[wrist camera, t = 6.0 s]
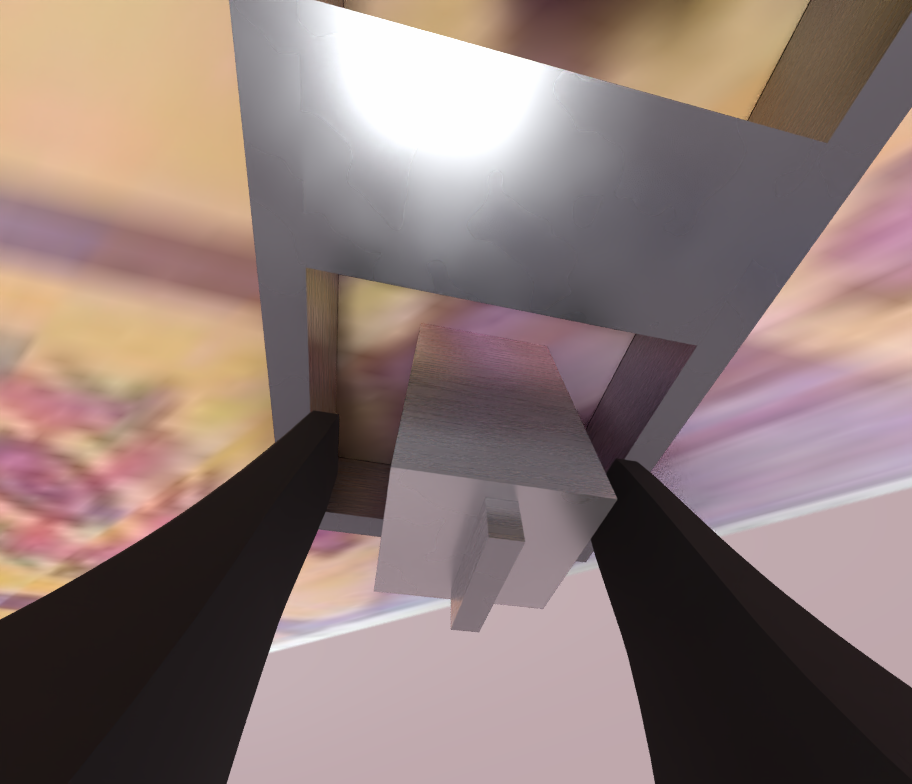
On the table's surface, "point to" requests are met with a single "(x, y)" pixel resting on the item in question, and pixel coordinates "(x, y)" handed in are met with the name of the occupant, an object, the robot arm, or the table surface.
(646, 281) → the grey slotted frame
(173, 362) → the table surface
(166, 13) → the table surface
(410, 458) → the grey block with tab
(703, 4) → the table surface
